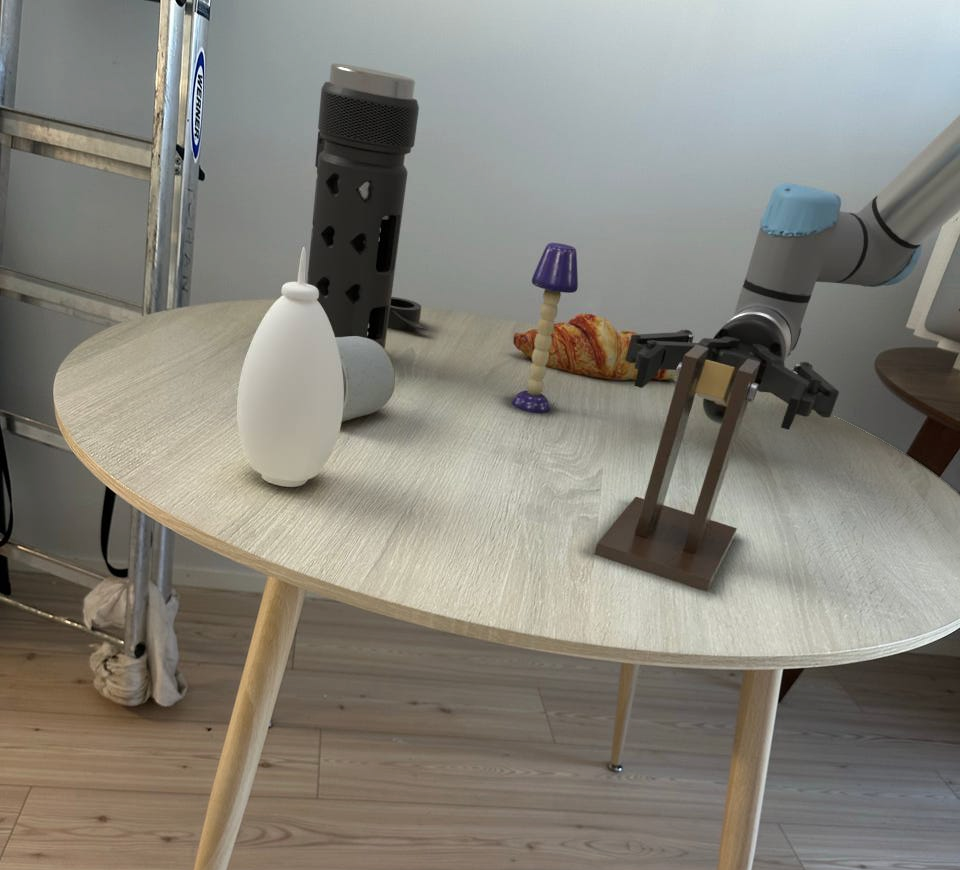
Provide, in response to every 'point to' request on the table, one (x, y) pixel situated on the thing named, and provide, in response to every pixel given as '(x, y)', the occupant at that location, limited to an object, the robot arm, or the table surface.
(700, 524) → the stand
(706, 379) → the lever
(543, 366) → the toy lamp
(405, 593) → the table surface
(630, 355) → the robot arm
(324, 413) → the air blower bulb
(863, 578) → the table surface
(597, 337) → the croissant
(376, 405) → the ceramic mug
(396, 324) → the duct tape
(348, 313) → the water bottle
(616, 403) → the table surface
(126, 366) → the table surface
